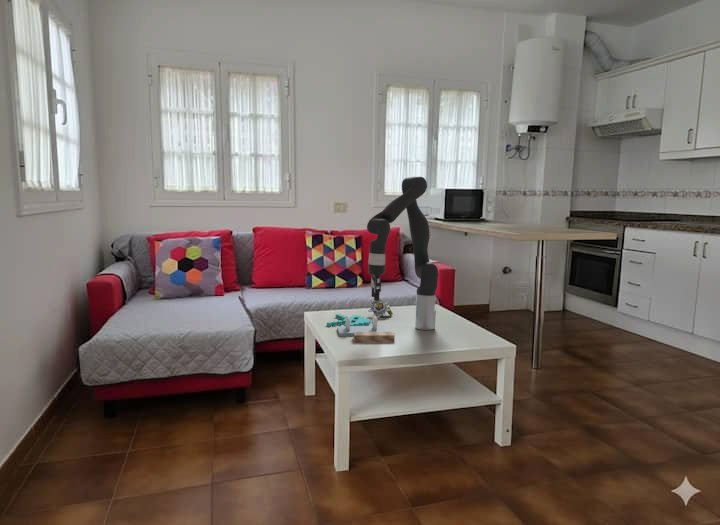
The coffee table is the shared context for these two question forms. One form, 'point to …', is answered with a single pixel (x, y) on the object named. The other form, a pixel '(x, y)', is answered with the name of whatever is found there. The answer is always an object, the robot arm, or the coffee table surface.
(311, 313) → the coffee table surface
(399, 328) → the coffee table surface
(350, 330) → the peg stand
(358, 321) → the alien figure
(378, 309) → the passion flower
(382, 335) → the shelf board
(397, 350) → the coffee table surface
